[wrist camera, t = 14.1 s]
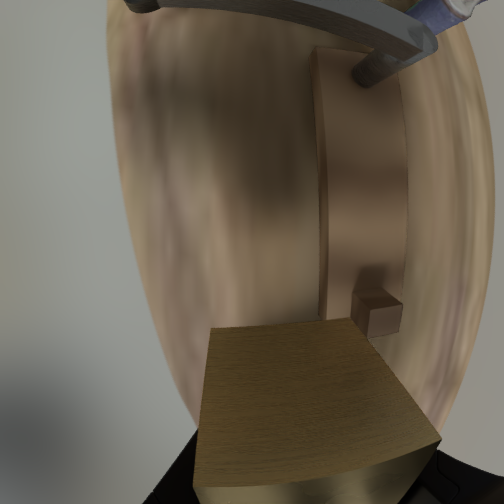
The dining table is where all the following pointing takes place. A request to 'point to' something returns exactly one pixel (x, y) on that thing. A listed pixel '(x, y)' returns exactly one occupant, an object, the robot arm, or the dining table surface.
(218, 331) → the light wooden cube
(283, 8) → the lever
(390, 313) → the plane body
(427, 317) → the dining table surface
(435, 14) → the flask
